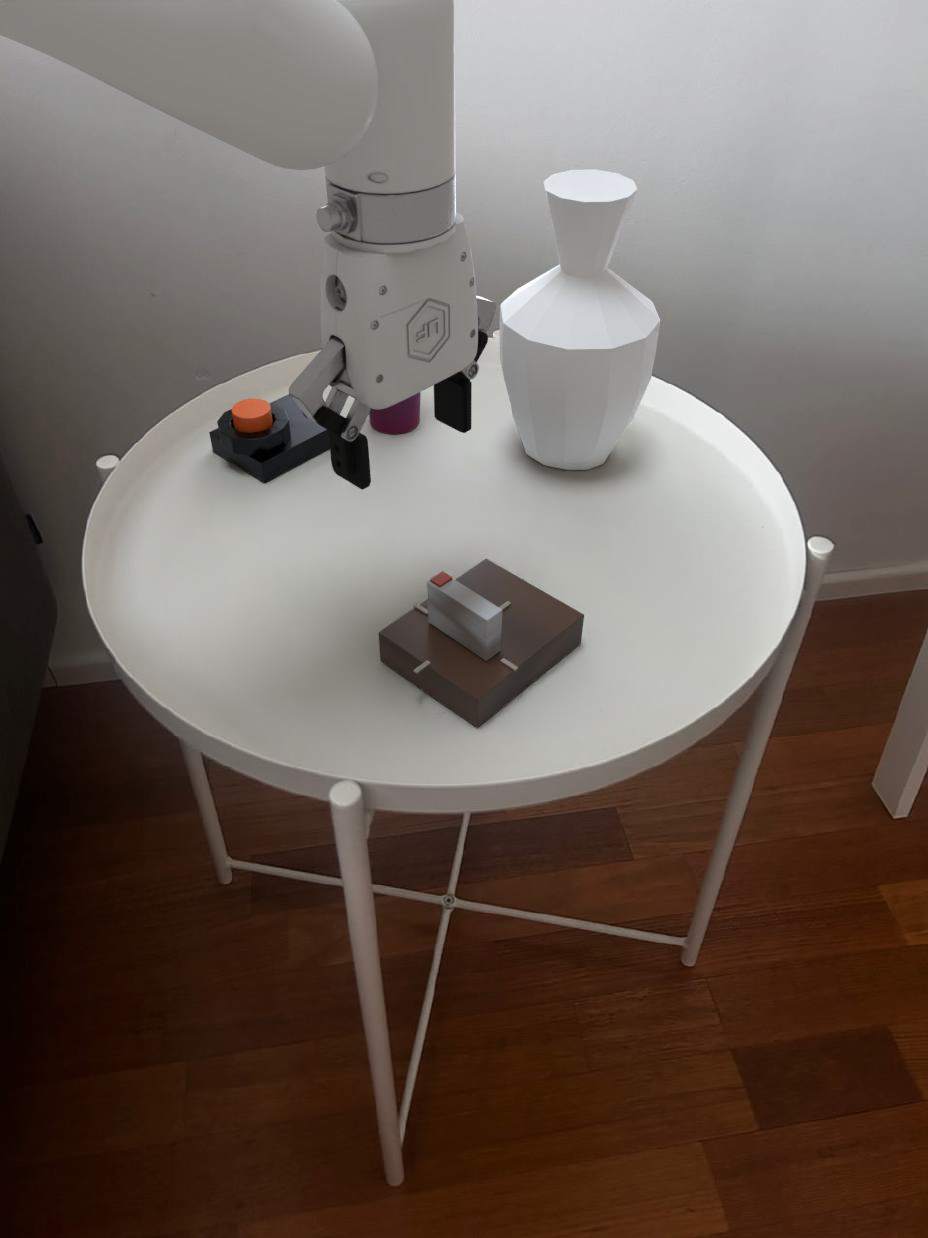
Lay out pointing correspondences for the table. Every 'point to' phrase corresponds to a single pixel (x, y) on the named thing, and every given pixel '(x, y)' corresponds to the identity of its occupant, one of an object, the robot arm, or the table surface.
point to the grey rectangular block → (464, 615)
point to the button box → (271, 441)
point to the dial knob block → (462, 678)
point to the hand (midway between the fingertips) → (404, 451)
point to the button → (252, 415)
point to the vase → (578, 330)
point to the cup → (397, 416)
